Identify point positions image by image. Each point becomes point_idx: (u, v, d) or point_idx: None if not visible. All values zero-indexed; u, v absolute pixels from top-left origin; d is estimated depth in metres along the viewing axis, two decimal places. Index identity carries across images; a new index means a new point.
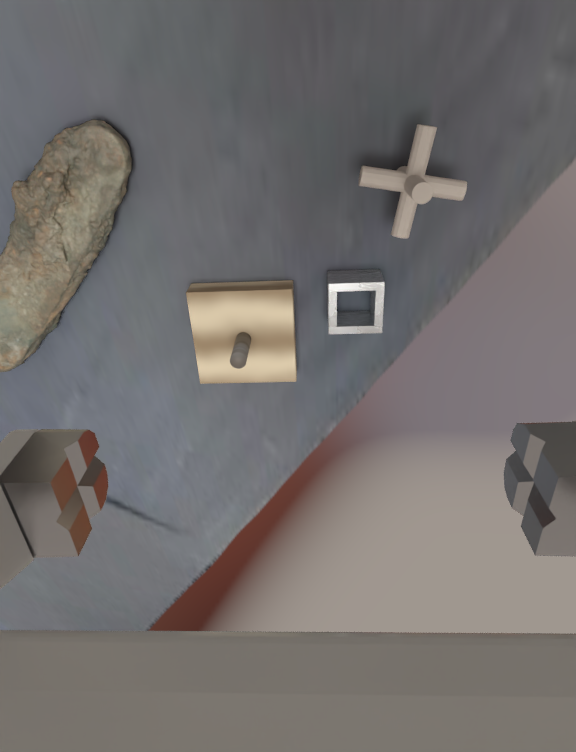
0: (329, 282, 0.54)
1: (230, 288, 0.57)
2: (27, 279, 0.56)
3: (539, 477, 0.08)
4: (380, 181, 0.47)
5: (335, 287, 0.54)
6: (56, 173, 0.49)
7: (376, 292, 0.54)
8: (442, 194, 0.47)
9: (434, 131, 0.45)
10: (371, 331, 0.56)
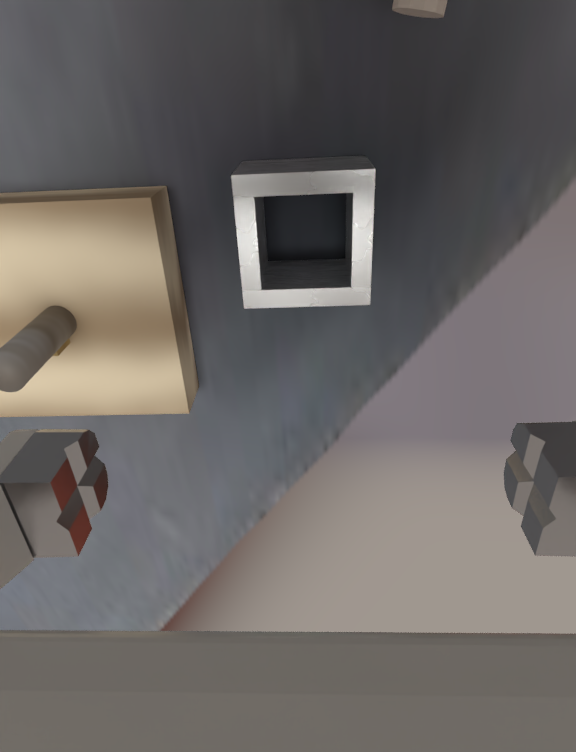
0: (235, 173, 0.21)
1: (11, 199, 0.24)
2: None
3: (539, 477, 0.08)
4: None
5: (249, 185, 0.21)
6: None
7: (354, 198, 0.21)
8: None
9: None
10: (345, 301, 0.23)
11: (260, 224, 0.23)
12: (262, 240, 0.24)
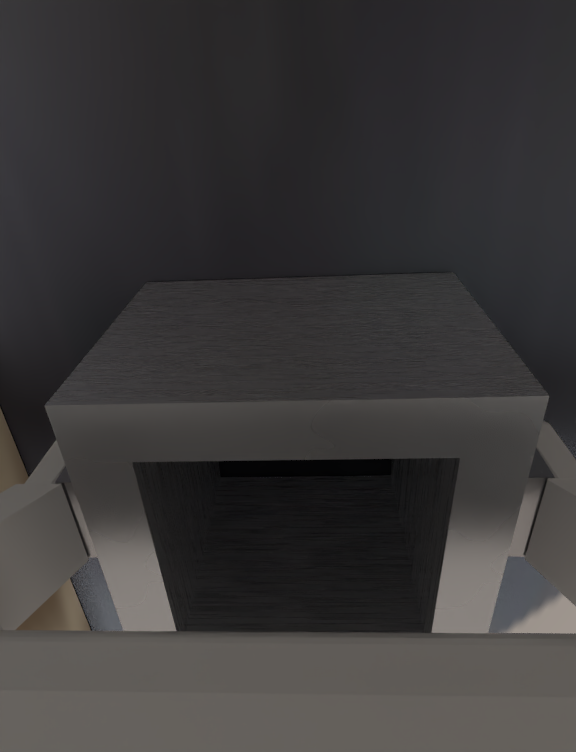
0: (68, 387, 0.06)
1: None
2: None
3: None
4: None
5: (111, 433, 0.06)
6: None
7: (462, 470, 0.06)
8: None
9: None
10: None
11: (181, 466, 0.09)
12: (192, 486, 0.10)
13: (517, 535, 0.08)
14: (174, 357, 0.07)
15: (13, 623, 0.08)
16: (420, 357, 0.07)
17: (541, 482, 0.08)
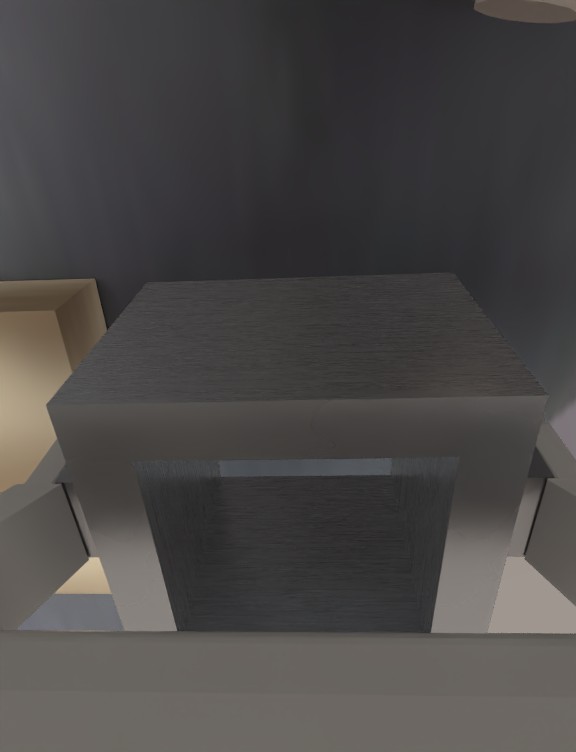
0: (69, 386, 0.06)
1: None
2: None
3: None
4: None
5: (112, 433, 0.06)
6: None
7: (461, 469, 0.06)
8: None
9: None
10: None
11: (181, 465, 0.09)
12: (193, 486, 0.10)
13: (517, 535, 0.08)
14: (175, 357, 0.07)
15: (13, 623, 0.08)
16: (420, 357, 0.07)
17: (541, 482, 0.08)
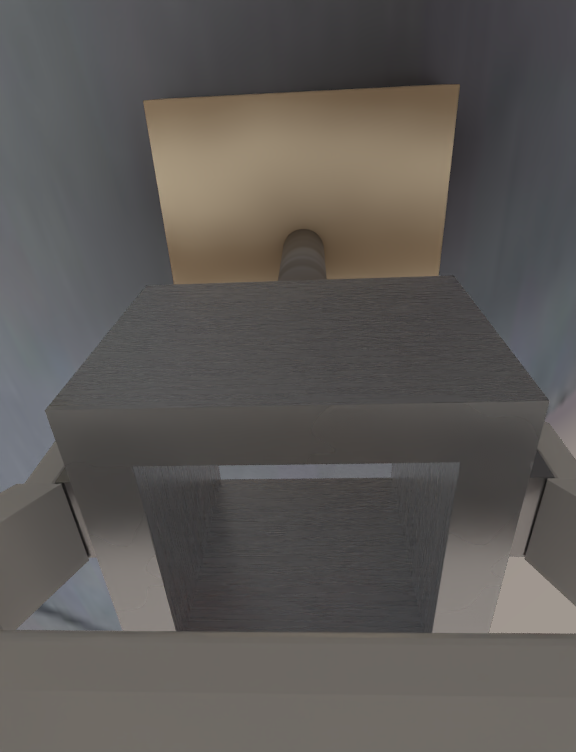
0: (69, 391, 0.06)
1: None
2: None
3: None
4: None
5: (112, 438, 0.06)
6: None
7: (462, 474, 0.06)
8: None
9: None
10: None
11: (181, 469, 0.09)
12: (193, 489, 0.10)
13: (517, 535, 0.08)
14: (174, 361, 0.07)
15: (13, 623, 0.08)
16: (420, 361, 0.07)
17: (541, 482, 0.08)
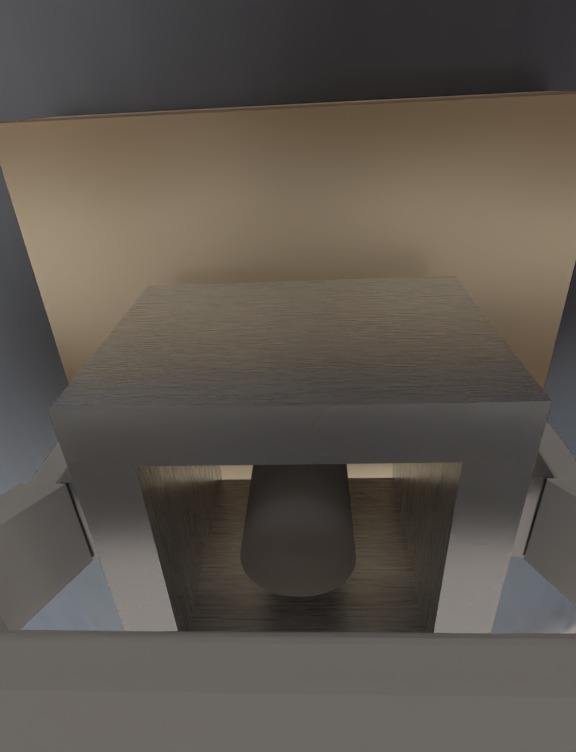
0: (71, 391, 0.06)
1: (239, 109, 0.10)
2: None
3: None
4: None
5: (114, 438, 0.06)
6: None
7: (464, 474, 0.06)
8: None
9: None
10: None
11: (183, 469, 0.09)
12: (194, 489, 0.10)
13: (517, 535, 0.08)
14: (177, 361, 0.07)
15: (17, 623, 0.08)
16: (422, 361, 0.07)
17: (541, 482, 0.08)
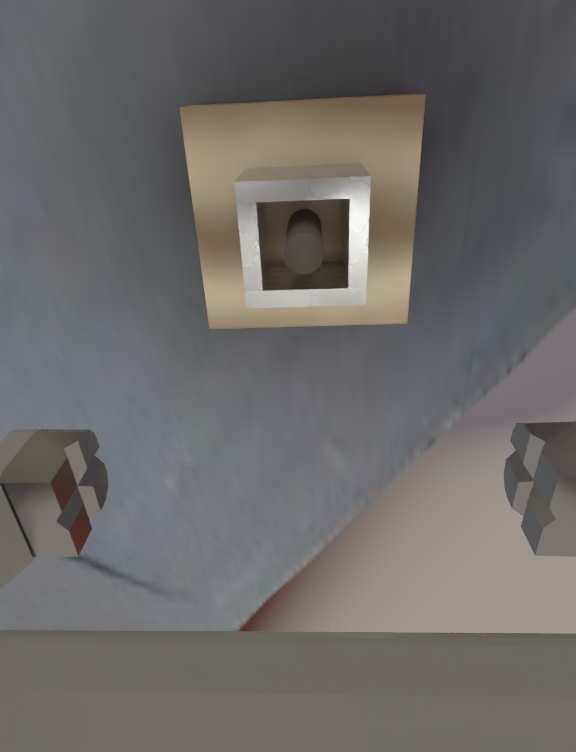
0: (238, 180, 0.22)
1: (278, 101, 0.25)
2: None
3: (539, 477, 0.08)
4: None
5: (251, 191, 0.22)
6: None
7: (351, 204, 0.22)
8: None
9: None
10: (342, 301, 0.25)
11: (261, 228, 0.25)
12: (263, 243, 0.26)
13: None
14: (266, 176, 0.23)
15: None
16: (340, 174, 0.23)
17: None
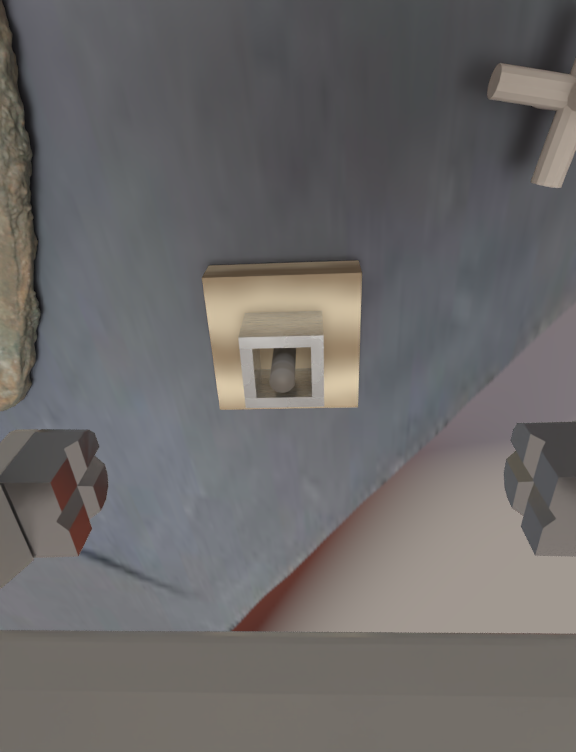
0: (240, 334, 0.35)
1: (267, 271, 0.38)
2: None
3: (539, 477, 0.08)
4: (530, 88, 0.28)
5: (249, 342, 0.35)
6: None
7: (312, 350, 0.35)
8: None
9: None
10: (308, 404, 0.38)
11: (256, 356, 0.38)
12: (257, 363, 0.39)
13: None
14: (258, 329, 0.36)
15: None
16: (305, 329, 0.36)
17: None
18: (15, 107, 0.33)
